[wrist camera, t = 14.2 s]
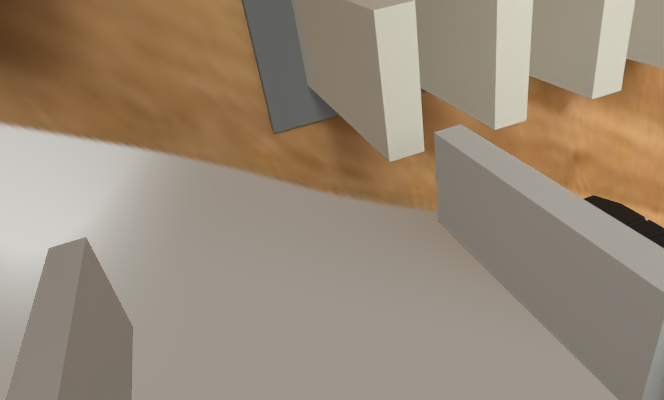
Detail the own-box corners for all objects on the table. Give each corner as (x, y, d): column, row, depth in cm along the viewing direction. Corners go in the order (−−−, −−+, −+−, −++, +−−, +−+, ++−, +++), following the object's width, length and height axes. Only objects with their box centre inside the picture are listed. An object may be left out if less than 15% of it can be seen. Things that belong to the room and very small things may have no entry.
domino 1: (307, 84, 30) (389, 162, 20) (287, -20, 27) (373, 10, 17) (331, 78, 31) (424, 151, 21) (315, -26, 27) (415, 0, 17)
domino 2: (381, 65, 31) (494, 130, 21) (371, -38, 28) (497, -19, 18) (404, 59, 32) (526, 120, 22) (396, -44, 28) (534, -28, 18)
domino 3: (452, 46, 32) (591, 99, 22) (449, -56, 29) (610, -47, 19) (473, 40, 33) (621, 90, 23) (473, -61, 29) (644, -55, 19)
